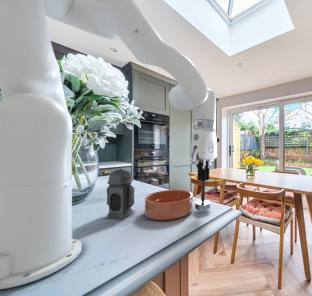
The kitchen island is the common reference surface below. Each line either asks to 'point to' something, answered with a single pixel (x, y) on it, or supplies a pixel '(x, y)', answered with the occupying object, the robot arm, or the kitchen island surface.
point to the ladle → (202, 200)
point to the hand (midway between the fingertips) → (203, 179)
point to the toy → (120, 194)
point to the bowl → (168, 204)
